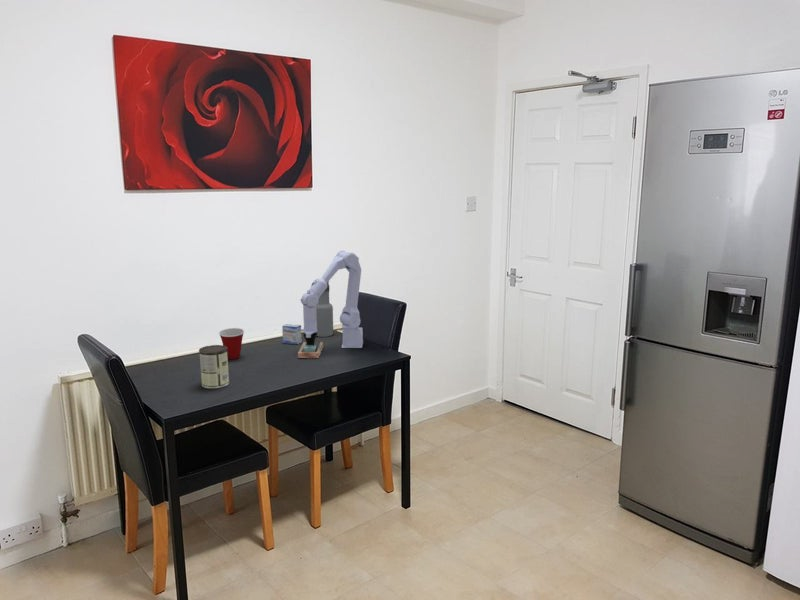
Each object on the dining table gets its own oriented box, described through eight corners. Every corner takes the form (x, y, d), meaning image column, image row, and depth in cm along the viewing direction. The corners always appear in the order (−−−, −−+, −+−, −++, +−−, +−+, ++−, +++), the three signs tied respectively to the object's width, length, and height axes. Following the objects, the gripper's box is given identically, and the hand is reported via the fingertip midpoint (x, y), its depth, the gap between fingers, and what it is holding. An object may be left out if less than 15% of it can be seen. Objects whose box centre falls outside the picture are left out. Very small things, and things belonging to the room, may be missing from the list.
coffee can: (205, 379, 243) (203, 344, 240) (232, 379, 243) (230, 344, 241) (197, 388, 233) (195, 352, 230) (225, 388, 233) (223, 352, 231)
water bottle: (312, 337, 306) (310, 281, 301) (313, 332, 316) (311, 277, 310) (333, 337, 307) (331, 280, 301) (333, 332, 316) (332, 277, 311)
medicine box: (282, 343, 295) (281, 325, 294) (286, 341, 300) (286, 323, 298) (297, 344, 293) (297, 326, 291) (301, 342, 297) (301, 324, 296)
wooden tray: (323, 347, 289) (323, 342, 288) (318, 358, 271) (318, 353, 271) (303, 347, 289) (303, 342, 288) (297, 358, 271) (297, 353, 270)
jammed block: (316, 352, 279) (316, 345, 278) (315, 355, 274) (314, 348, 274) (305, 352, 279) (304, 345, 278) (303, 356, 274) (303, 348, 274)
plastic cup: (217, 361, 267) (215, 334, 265) (223, 354, 278) (221, 328, 275) (242, 361, 267) (241, 334, 265) (248, 354, 278) (246, 327, 276)
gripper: (303, 316, 285) (304, 345, 287) (298, 323, 270) (299, 353, 273) (318, 316, 285) (319, 345, 287) (314, 323, 270) (315, 353, 273)
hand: (311, 349), depth 280 cm, fingers closed
